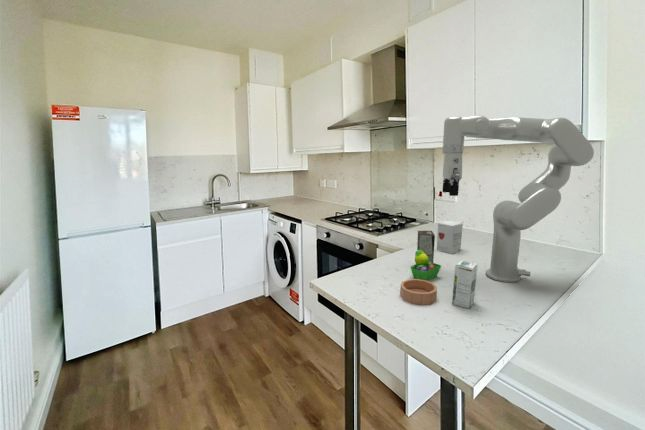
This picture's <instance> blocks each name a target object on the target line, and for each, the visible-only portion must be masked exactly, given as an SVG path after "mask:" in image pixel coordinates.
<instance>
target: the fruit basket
mask: <svg viewBox="0 0 645 430" xmlns="http://www.w3.org/2000/svg"><path fill="white" fill-rule="evenodd" d="M414 254H415V255H414V256H415V257H414V262H415V264H414V265H411V266H410V270H411V273H412V277H413V279H420V280H426V281H430V280H432V279H434V278H437V276H438V274H439V271H440V269H441V268H442V264H438V263H436V262H433V263H432V262H429V261H428V260H429V258H428V256H427V255H426V254H425V253H424V252H423V251H421V250H417V249H416V251H415V253H414Z"/></svg>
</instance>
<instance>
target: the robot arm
mask: <svg viewBox="0 0 645 430" xmlns="http://www.w3.org/2000/svg"><path fill="white" fill-rule="evenodd" d="M465 137H466V138H478V139H490V140H491V139H492V140H499V141H500V140H501V141H516V142H517V141H518V142H531V143H544V144H545V143H547V144H548V143H554V145H553V146H551V148H550V149H549V152H548V155H547V159H548V160H547V162H548V163H547V167H546V169H544V171H543V172H541V173H540V174H539V175H538V176H536V178H534V179H533V180H531V181H530V182H529V183H527V185H524V186H523V187H522V188H521V189H520V191H519V193H518V195H517V197H518V198H517V199H518V200H519V202H520V203H519V202H517V201H513V200H502V201H500V202H498V203H497V204H496V205H495V207H494V209H493V211H492V212H493V213H492V221H493V235H492V236H493V237H492V246H491V256H490V257H491V258H490V267H489V268H488V269H486V270H485V275H486V276H487V277H488V278H490V279H492V280H493V281H494V280H495V281H497V282H504V283H515V282H519V281H521V276H525V277H531V271H527V270H526V269H520V268H519V267H518V262H519V254H520V246H521V244H520V243H521V234H522V233H521V231H524V230H528V229H529V228H532V227H533V226H534V225H536V224H538V223H539V222H540V221H542V220H543V219H545V218H546V217H547V216H548V215H550V214H551V213H552V212H554V211H555V210H556V209H557V208H558V206H559V205H560V203H561V201H562V194H561V192H560V190H561V188H563V187H564V186H565V185H566V184H567V183H568V181H569V180H570V176H571V171H572V167H581V166H585V165H587V164H588V163H590V162H591V160H593V157H594V153H595V151H594V147H593V145H592V144H591V142H590V141H589V140H588V138H586V136H584V134H583V132H581V130H580V129H579V128H578V127H577V126H576V125H575V124H574V123H573V122H572V121H571V120H569V119H567V118H565V117H554V118H531V117H520V116H518V117H517V116H515V117H513V116H512V117H504V118H488V117H486V116H484V115H480V114H479V115H472V116H450V117H446V118H445V120H444V122H443V138H442V139H443V140H442V155H444V157H443V166H442V177H443V179H442V180H443V181H442V190H441V191H442V193H448V195H449V196H452V197H457V196H459V189H460V180H462V178H463V154H464V148H465V147H464V145H465Z"/></svg>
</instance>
